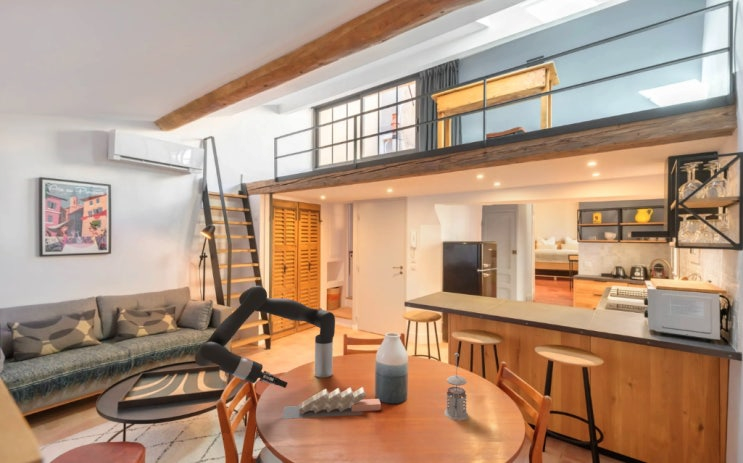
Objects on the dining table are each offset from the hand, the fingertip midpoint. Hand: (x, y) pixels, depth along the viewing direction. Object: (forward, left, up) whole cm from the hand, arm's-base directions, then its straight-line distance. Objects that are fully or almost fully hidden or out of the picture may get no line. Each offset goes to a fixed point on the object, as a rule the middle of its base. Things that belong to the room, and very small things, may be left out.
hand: (286, 385), depth 140 cm
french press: (+9, +69, -11) cm, 71 cm away
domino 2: (+1, +11, -9) cm, 15 cm away
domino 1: (+1, +6, -9) cm, 11 cm away
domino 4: (+1, +22, -9) cm, 24 cm away
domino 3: (+1, +16, -9) cm, 19 cm away
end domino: (+1, +27, -9) cm, 28 cm away
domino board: (+1, +15, -11) cm, 19 cm away
